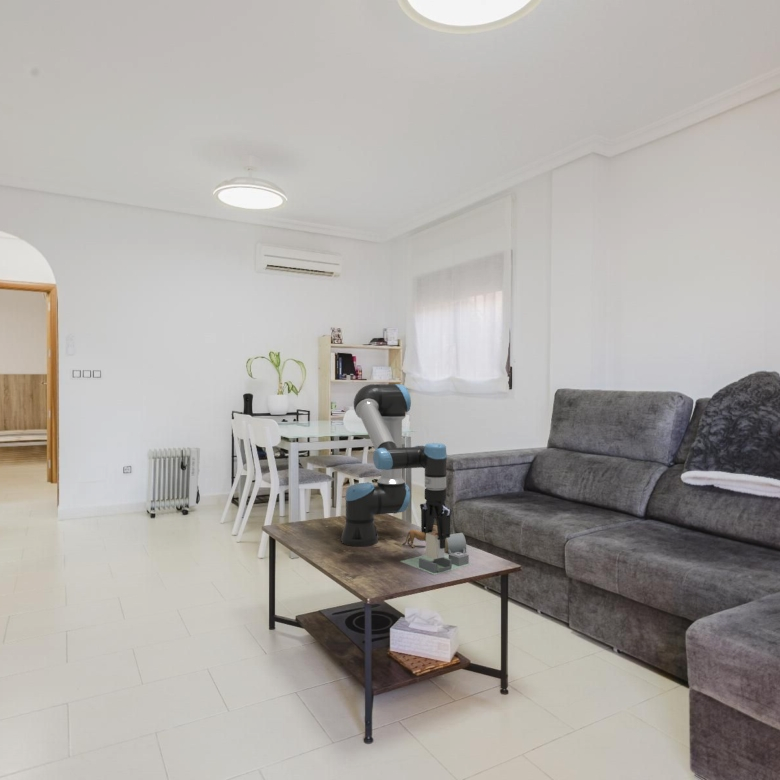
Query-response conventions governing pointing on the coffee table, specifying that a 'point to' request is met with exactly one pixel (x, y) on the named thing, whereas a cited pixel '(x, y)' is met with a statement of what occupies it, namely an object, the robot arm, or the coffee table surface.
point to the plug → (431, 544)
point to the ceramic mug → (455, 543)
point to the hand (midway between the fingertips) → (435, 555)
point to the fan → (459, 558)
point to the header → (432, 565)
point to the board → (415, 561)
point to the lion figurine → (417, 536)
